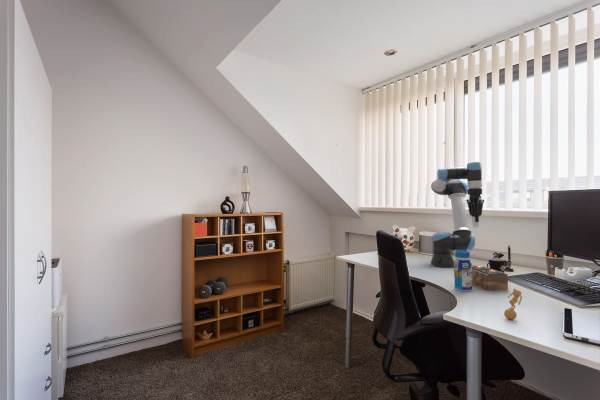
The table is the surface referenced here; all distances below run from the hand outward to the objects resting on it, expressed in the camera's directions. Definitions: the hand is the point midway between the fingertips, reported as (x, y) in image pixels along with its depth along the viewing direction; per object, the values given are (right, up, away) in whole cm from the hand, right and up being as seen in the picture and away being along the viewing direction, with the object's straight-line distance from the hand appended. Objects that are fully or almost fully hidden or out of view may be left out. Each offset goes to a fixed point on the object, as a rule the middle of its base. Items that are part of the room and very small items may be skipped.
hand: (475, 227), depth 182 cm
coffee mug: (+12, -30, +1) cm, 32 cm away
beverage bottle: (-20, -31, -23) cm, 43 cm away
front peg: (-4, -29, -22) cm, 37 cm away
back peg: (-5, -29, -12) cm, 32 cm away
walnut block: (-5, -30, -17) cm, 35 cm away
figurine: (-22, -31, -63) cm, 74 cm away
